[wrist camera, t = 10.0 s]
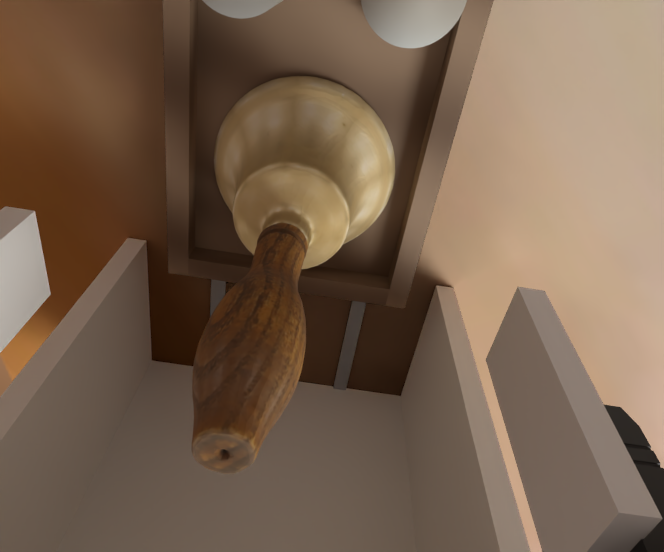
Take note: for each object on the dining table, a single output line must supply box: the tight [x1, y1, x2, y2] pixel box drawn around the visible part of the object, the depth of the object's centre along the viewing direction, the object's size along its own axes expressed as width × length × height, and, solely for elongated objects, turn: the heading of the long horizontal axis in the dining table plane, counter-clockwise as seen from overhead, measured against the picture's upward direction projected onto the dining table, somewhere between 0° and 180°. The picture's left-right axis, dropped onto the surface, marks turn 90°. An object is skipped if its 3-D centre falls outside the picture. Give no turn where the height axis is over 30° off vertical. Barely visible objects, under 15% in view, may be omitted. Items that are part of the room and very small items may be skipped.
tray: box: [163, 0, 494, 309], centre depth 20 cm, size 20×12×5 cm, turn 171°
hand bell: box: [192, 76, 395, 474], centre depth 17 cm, size 8×8×16 cm
